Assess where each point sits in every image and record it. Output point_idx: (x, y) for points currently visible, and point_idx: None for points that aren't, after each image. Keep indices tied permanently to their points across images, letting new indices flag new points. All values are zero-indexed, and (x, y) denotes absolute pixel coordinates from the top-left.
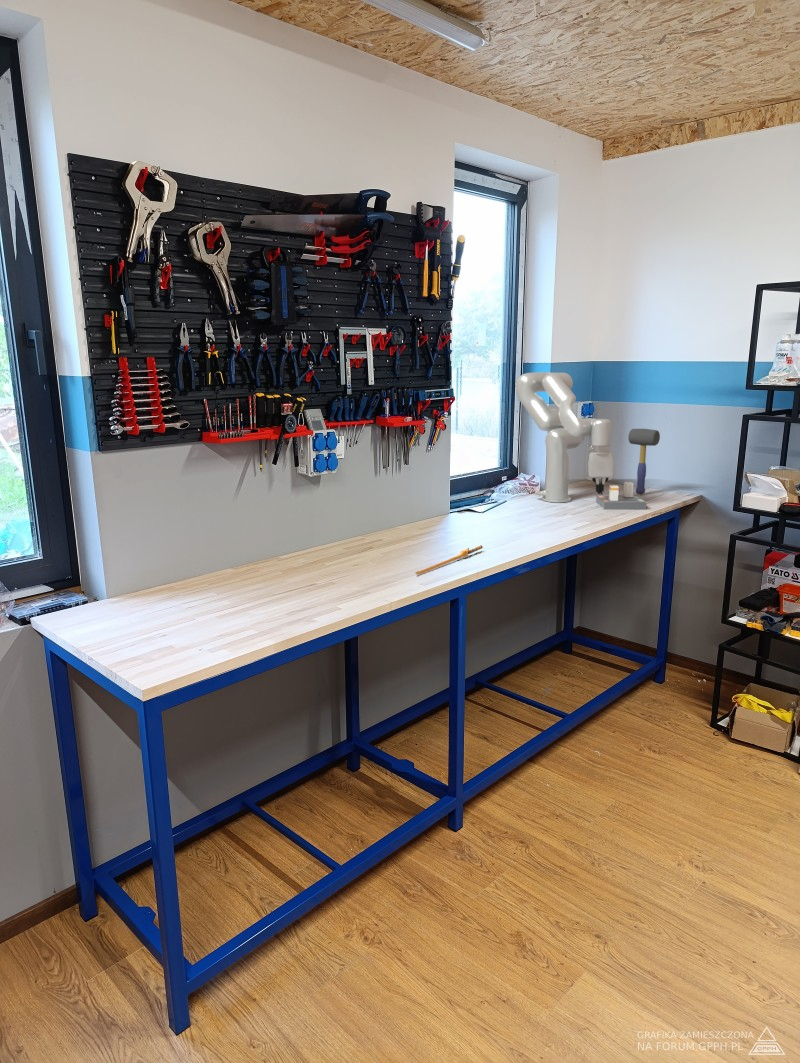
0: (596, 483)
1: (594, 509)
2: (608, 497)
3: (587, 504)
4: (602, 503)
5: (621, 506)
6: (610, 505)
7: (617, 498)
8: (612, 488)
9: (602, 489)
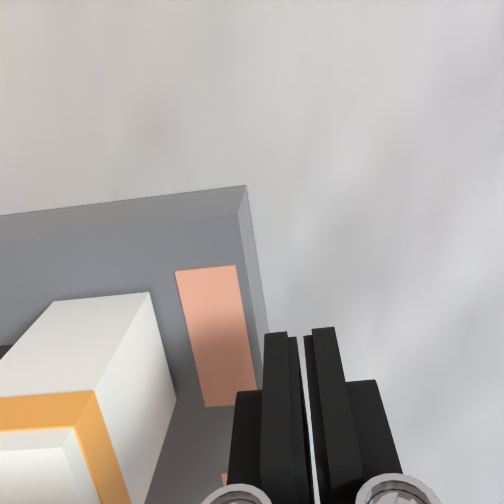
0: (429, 497)
1: (364, 166)
2: (176, 498)
3: (400, 422)
4: (257, 299)
5: (30, 222)
6: (159, 208)
7: (45, 317)
8: (55, 415)
9: (258, 409)
